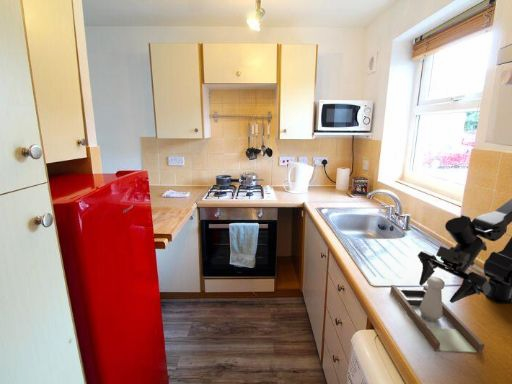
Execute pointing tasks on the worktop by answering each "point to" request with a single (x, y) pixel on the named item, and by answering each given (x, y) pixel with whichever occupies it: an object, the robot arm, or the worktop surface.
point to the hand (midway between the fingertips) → (434, 293)
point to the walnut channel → (443, 337)
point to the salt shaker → (432, 300)
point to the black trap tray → (413, 296)
